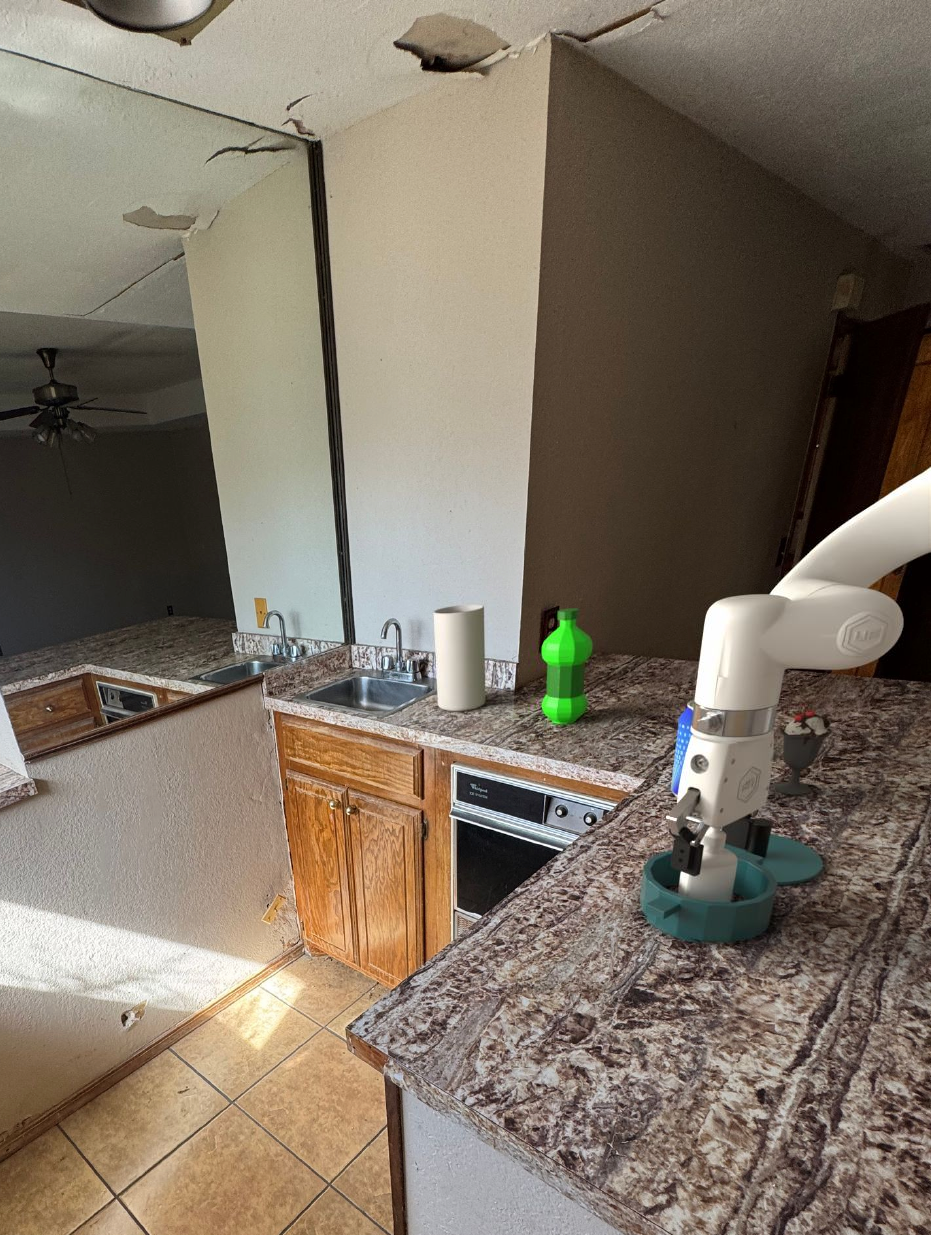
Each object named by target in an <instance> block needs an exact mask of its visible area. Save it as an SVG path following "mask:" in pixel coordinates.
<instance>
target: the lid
mask: <svg viewBox="0 0 931 1235" xmlns="http://www.w3.org/2000/svg"><path fill="white" fill-rule="evenodd" d="M754 819H755V821H754V826H753V832H752V837H751V842H750V847H749V848H748V849H746V850H742V849H739V848H736V847H733V846H730V845H728V844H725V847H724V849H727V850H730V851H731V852H732V853H734V854H736V855H738V854H740V853H742V852H744V851H745V852H748V853H751V854H754V855H757V856H760V857H763V858H764V860H763V864H762V865H761V866H763V867H764V868H766V869H768V870H769V871H770V872H771V873H772V875H773V876H774V878H775V879H776V881H777V883H778V884H777V886H789V885H798V884H803V883H806V882H809V881H811V880H813V879H815V878H816V877H818V876H819V875H820V874H821V872H822V869H823V866H824V865H823V864H824V862H823V860H822V858H821V856H820V855H819V854H818V853H817V852H816V851H815V850H814V849H812V848H811V847H809V846H807V845H806V844H803V843H801V842H799V841H797V840H795V839H791V838H789V837H785V836H783V835H782V836H781V835H777V834H773V833H772V828H773V824H774V823H773V821H772V820H770V819H769V818H763V817H755V818H754ZM771 833H772V834H771Z"/></svg>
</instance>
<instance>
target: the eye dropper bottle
mask: <svg viewBox="0 0 931 1235" xmlns="http://www.w3.org/2000/svg"><path fill="white" fill-rule="evenodd" d="M725 840H726V833H725V832H723V831H722V829H721V828H712V827H711V826H709V828H708V830H707V832H706V834H705V836H704V837H703V839H702V841H701V843H700V844H702V845H704V850H703V857H702V863H701V870H700V874H699V875H697V876H691V875H689V874H686V873H684V872H681V875H680V882H679V884H678V890H677V894H679V895H682V896H684V897H689V898H693V899H698V900H703V901H708V902H732V897H733V894H734V893H733V887H734V881H735V876H736V870H737V863H738V860H737V857H736V855H735V854H734V853H732V852H731V851H730V850H727V849H724V847H725Z"/></svg>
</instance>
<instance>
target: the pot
mask: <svg viewBox="0 0 931 1235" xmlns="http://www.w3.org/2000/svg"><path fill="white" fill-rule="evenodd" d="M672 851H673V849H672V850H665V851H662V852H660V853H658V854H656V855H654V856H652V857H650V858H648V859H647V861H646V863H645V864H644V866H643V868H642V877H641V884H640V885H641V886H640V895H639V904H640V908H641V911H642V913H643V915H645V916H644V919H645V920H646V921H647V922H648V923H649V924H650V925H651V926H653V927H654V928H656V929H657V930H659V931H661V932H662V933H665V934H666V935H669V936H671V937H674V938H677V939H679V940H682V941H685V942H689V943H693V944H699V945H702V942H710V943H711V942H712V943H713V942H715V943H735V942H736V943H737V942H741V941H746V940H752V939H754V938H755V937H758V936H759V935H761V934H762V933H764V932H766V931H767V930H768V927H769V923H770V920H771V916H772V911H773V906H774V903H775V898H776V892H777V888H778V885H777V884H778V883H777V881H776V879H775V878H774V876H773V875H772V873H771V872H770V871H769V870H768V869H766V868H764V867H763V866H761V865H762V864H763V860H764V858H763V857H760V856H757V855H754V854H751V853H748V852H745V851H744V852H742V853H740V854H738V855H736V854H735V855H736V857H737V860H738V863H737V870H736V876H735V881H734V887H733V893H732V894H735V895H738V896H740V897H742V898H744V899H745V900H739V901H733V902H732V901H731V902H708V901H703V900H698V899H693V898H689V897H684V896H682V895H679V894H678V892H675V891H672V890H670V889H668V888H666V887H672V886H679V882H680V875H681V871H679V870H676V869H674V868H672V867H671V859H672ZM699 941H700V942H699Z"/></svg>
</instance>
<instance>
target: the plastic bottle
mask: <svg viewBox="0 0 931 1235" xmlns="http://www.w3.org/2000/svg"><path fill="white" fill-rule="evenodd" d="M579 616H580V609H579V608H578V607H576V608H572V607H571V608H570V607H569V608H563V609H559V610H557V620H558V621H559V627H558V628H556V629H555V630H554V631H553V632H552V633H551V634H550V635H549V636H548V637H547V638H546V639H545V640H543V643H542V646H541V656H542V660H544V662H546V664H547V666H546V667H547V668H546V694H545V696H544V697H543V700H542V702H541V709H542V712H543V714H544V715H545V716H546V717H547V718H548V719H549V720H551V722H552V723H553V724H558V725H568V724H569V725H570V724H573V723H575V722H576V721H577V720H578V719H579V718H581V717H582V716H583V714H585V712H586V711H587V709H588V704H589V702H588V699H587V696H586V694H585V675H586V674H585V672H586V661H587V660H588V659H590V657H591V656H592V652H593V644H594V643H593V640H592V638H591V637H590V636H589V635H588V634H587V633H586V632H585V631H583V630H582V629H581V628H579V627H578V626H577V623H576V622H577V619H579Z"/></svg>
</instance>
